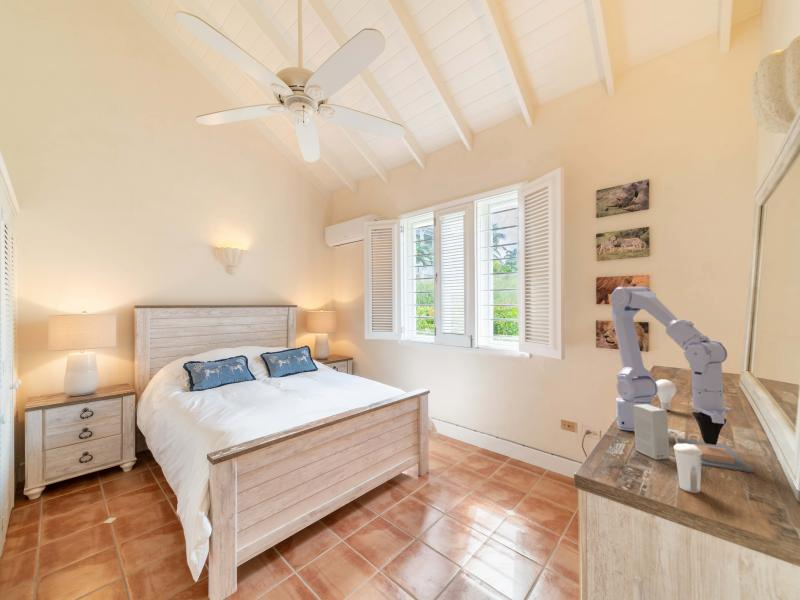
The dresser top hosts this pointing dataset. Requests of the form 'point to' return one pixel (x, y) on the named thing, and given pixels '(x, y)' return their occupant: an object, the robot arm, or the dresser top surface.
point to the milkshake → (688, 466)
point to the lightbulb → (665, 392)
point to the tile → (716, 454)
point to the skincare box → (651, 431)
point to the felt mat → (739, 463)
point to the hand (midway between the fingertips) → (709, 443)
